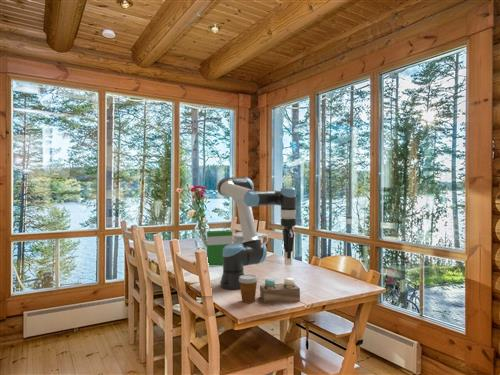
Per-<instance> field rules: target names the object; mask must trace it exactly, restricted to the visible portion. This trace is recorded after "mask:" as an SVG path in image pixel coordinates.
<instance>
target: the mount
mask: <svg viewBox="0 0 500 375" xmlns="http://www.w3.org/2000/svg"><path fill="white" fill-rule="evenodd" d="M259 297H260V300H262V302H263V303H264V304H272V303H273V304H274V303H283V302H284V303H287V302H298V301H301V288H300V287H299V286H298V285H297V284H296V283H295V282H294V285H292V287H291V288H286V285H285V284H284V283H275V286H273V289H267V286H265V284H259Z"/></svg>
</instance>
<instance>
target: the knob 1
mask: <svg viewBox="0 0 500 375" xmlns="http://www.w3.org/2000/svg"><path fill="white" fill-rule="evenodd" d="M275 282H276V281H275V279H273V278H266V279H265V280H264V285H265V286H267V289H273V286H275V284H276V283H275Z"/></svg>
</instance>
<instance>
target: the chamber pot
mask: <svg viewBox="0 0 500 375" xmlns="http://www.w3.org/2000/svg"><path fill="white" fill-rule="evenodd" d="M256 232H257V237H258V238H259V239H260V240H261V243H263V244H265V245H267V243H268V242H269V235H268V234H267V233H263V232H261V231H256ZM232 237H234V238H233V239H232V244H236V243H241V244H242V242H243V235H242V231H237V232H232ZM263 237H266V239H265V241H263V240H264V239H263Z"/></svg>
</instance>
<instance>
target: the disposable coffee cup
mask: <svg viewBox="0 0 500 375" xmlns="http://www.w3.org/2000/svg"><path fill="white" fill-rule="evenodd" d="M258 280H259V279H258V277H257V275H255V274H244V275H242V276H240V277H239V282H240V294H241V295H240V296H241V301H242V303H245V304H252V303H254V302H256V301H255V300H256V292H257V282H258Z"/></svg>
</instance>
